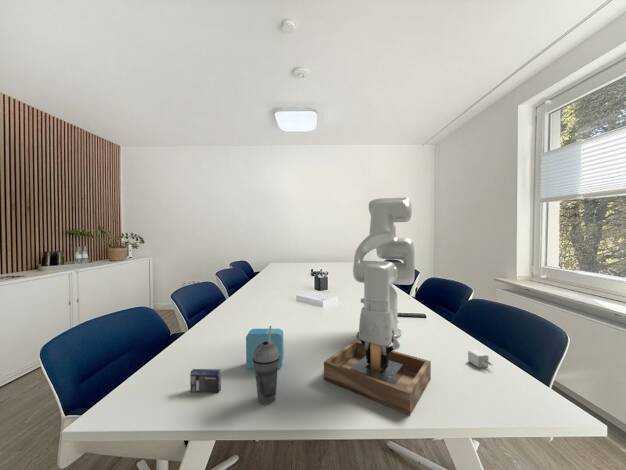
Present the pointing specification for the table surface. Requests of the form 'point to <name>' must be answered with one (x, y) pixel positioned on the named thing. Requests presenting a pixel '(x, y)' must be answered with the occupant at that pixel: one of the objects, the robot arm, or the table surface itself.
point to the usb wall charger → (478, 358)
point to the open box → (393, 396)
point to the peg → (376, 357)
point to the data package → (257, 338)
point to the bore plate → (389, 375)
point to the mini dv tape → (205, 380)
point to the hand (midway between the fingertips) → (377, 363)
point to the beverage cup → (266, 370)
